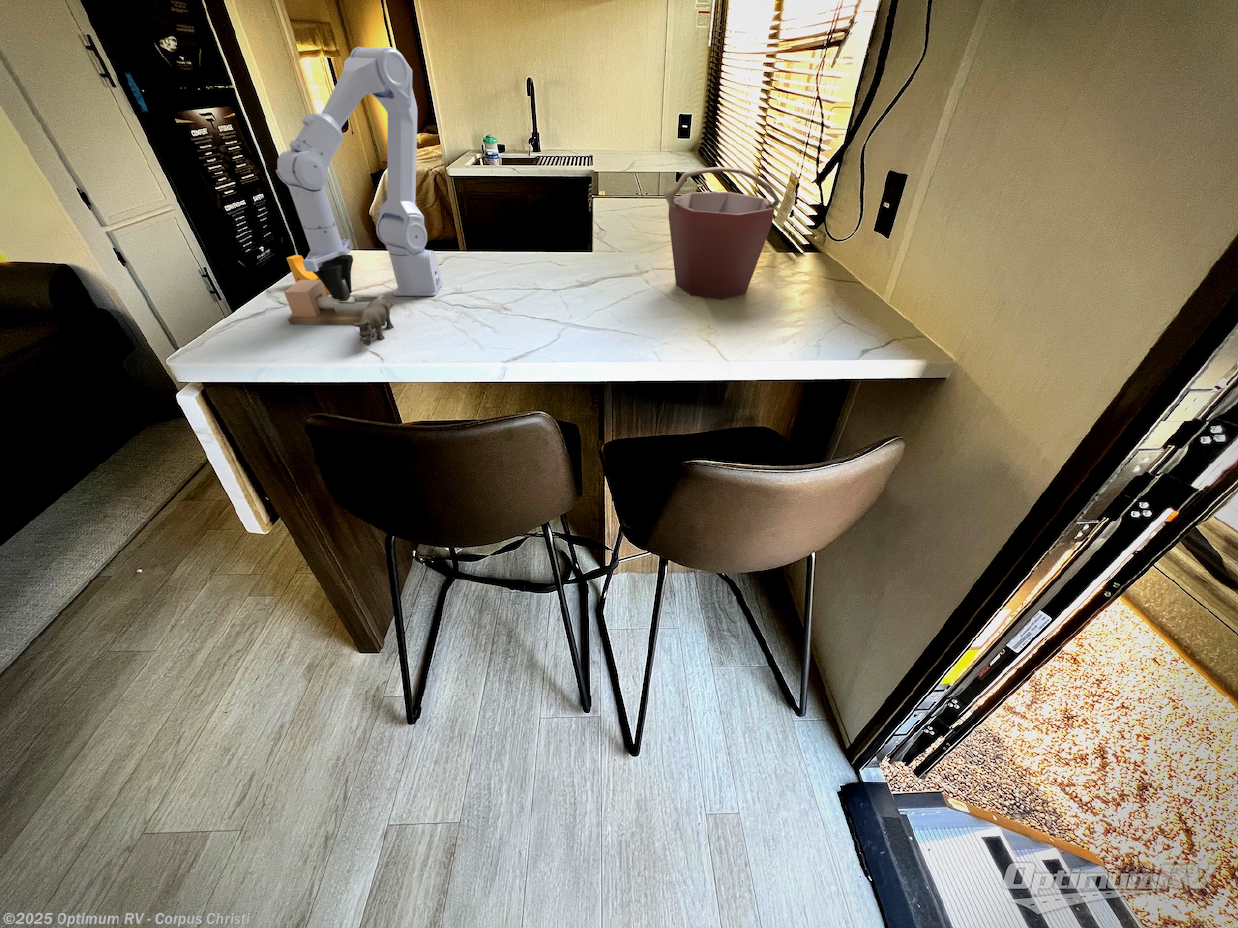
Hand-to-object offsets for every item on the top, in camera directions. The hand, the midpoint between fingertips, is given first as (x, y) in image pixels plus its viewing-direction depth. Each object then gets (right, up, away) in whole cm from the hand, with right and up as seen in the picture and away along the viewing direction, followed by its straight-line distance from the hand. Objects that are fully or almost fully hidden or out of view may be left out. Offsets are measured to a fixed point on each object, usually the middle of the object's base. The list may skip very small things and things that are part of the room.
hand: (342, 296), depth 105 cm
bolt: (-3, -2, +2) cm, 4 cm away
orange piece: (-13, +7, +15) cm, 21 cm away
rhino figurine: (+10, -10, -6) cm, 15 cm away
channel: (+3, -2, +2) cm, 4 cm away
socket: (-7, -2, +2) cm, 8 cm away
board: (-2, -3, +2) cm, 4 cm away
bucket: (+79, +9, +19) cm, 82 cm away
